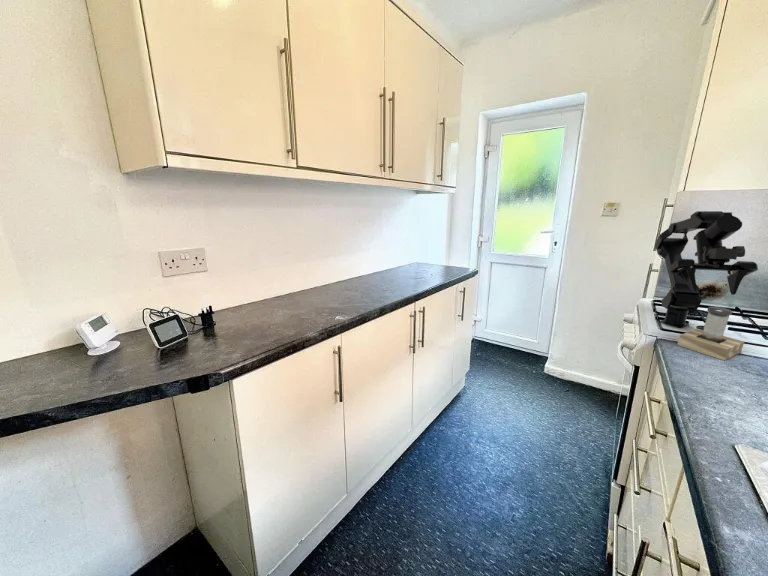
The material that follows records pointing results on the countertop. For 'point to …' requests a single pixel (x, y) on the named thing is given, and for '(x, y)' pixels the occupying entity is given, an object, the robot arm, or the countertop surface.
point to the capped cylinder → (715, 324)
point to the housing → (710, 345)
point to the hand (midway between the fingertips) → (713, 293)
